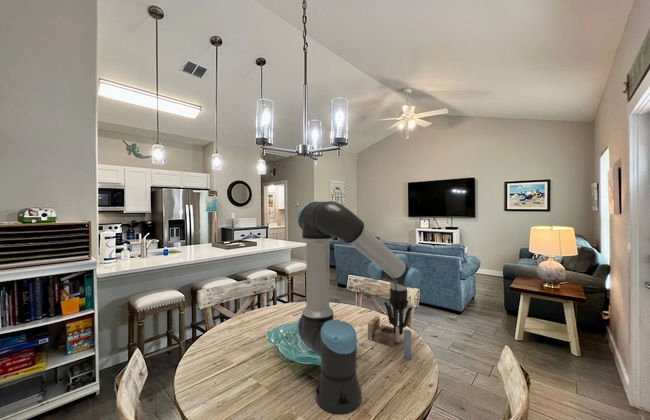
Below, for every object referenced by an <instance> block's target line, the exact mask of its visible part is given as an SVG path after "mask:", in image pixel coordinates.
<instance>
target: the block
mask: <svg viewBox="0 0 650 420" xmlns="http://www.w3.org/2000/svg"><path fill="white" fill-rule="evenodd" d="M373 342H374V343H378V344H381V345H384V346H387V347H390V348H394V347H395V346H396V344H398V342H396V333H394V327H393V326H389V325H384V324H380V327H379V328H378V329H377V330H376V331H374V339H373Z"/></svg>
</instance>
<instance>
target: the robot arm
mask: <svg viewBox="0 0 650 420" xmlns="http://www.w3.org/2000/svg"><path fill="white" fill-rule="evenodd" d="M296 218H297V224H298V226H299V228H300V229H301V231H302V232H301V234H302V237H301V238H302V240H303V241H304V242H305V243H306V244H305V245H306V246H305V247H306V253H305V254H306V256H305V257H306V259H305V261H306V264H305V265H306V269H305V273H306V276H305V278H306V279H305V280H306V289H305V290H306V292H305V294H306V300H305V301H306V304H305V305H306V306H305V307H304V308H303V309H302V312H301V316H300V318H299V319H298V321H297V325H296V329H297V334H298V336H299V338H300V339H301V340H302V342H303V343H304V344H305V345H306V346H307V347H309V348H310V349H311V350H312V351H313V352H314V353H315V354H316V355H318V356H319V357H320V375H319V378H318V381H317V383H316V387H315V400H316V404H317V405H318V407H320V408H321V409H323V410H324V411H326V412H328V413H331V414H336V415H337V414H338V415H339V414H340V415H344V414H349V413H351V412H354V411H355V410H357V409H358V408H359V406H360V405H361V403H362V394H363V393H362V387H361V386H360V382H359V379H358V378H359V377H358V376H357V351H358V349H357V347H358V346H357V345H358V339H357V332H356V330H355V327H354V326H353V325H352V324H350V323H349V322H346V321H344V320H343V321H341V320H340V319H334V310H333V308H332V307H331V306H330V242H332V241H333V239H334V237H335V238H337V239H339V240H340V241H341V242H343V243H344V244H347V245H351V246H352V247H353V248H355V249H356V250H357V251H359V252H360V253H361V254H362V255H363V256H364V257H366V258H367V259H369V261H371V263H369V265H368V266H367V270H368V271H367V273H368V276H369V277H370V278H371V279H372V280H373V281H380V280H384V281H388V282H389V287H390V288H389V299H388V300H386V301H384V303H383V304H384V306H385V307H386V308H385V309H386V313H387V319H388V323H389V324H390V325H393V326H392V327H393V328H394V333H396V342H397V343H400V342H401V340H402V335H404V328H406V327H407V326H408V323H409V319H410V316H411V312H412V310H413V309H414V305H411V304H410V303H409V301H408V288H410V289H416V288H418V287H419V286H420V284H421V282H422V273H421V271H420V270H419V269H417V268H415V267H412V266H411V267H410V266H409V264H408V263H409V262H408V256H407V255H406V254H404V253H394V251H392V250H391V249H390V248H388V247H387V246H386V245H385V244H384V243H383V242H382V241H381V240H379V238H378V237H377V236H375V235H374V234H373V233H372V232H371V231H369V229H367V228H366V226H365V222H364V221H363V220H362V219H361V218H359V217H358V216H357V214H355V213H354V212H353V211H351V210H350V209H349V208H347V207H346V206H344V205H343V204H342V203H339V202H338V201H337V202H336V201H332V200H331V201H330V200H329V201H315V200H314V201H311V202H307V203H305V204H304V205H303V206H302V207H300V209H299V211H298V213H297V217H296ZM405 308H406V309H407V310H406V311H405ZM404 311H405V312H406V314H405V317H404Z"/></svg>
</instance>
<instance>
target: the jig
mask: <svg viewBox="0 0 650 420" xmlns="http://www.w3.org/2000/svg"><path fill="white" fill-rule="evenodd" d="M380 321H381V319H380V317H378V316H374V318H372V319H371V320H370V321H368V322H367V340H368V341H370V342H371V341H372V342H373V341H374V331H376V330H377V329H378V328H379V327H380V326H381V324H380V323H381V322H380Z"/></svg>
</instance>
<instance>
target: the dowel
mask: <svg viewBox="0 0 650 420" xmlns="http://www.w3.org/2000/svg"><path fill="white" fill-rule="evenodd" d="M403 359H404V360H405V361H411V360H412V331H411V330H409V329H403Z"/></svg>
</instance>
